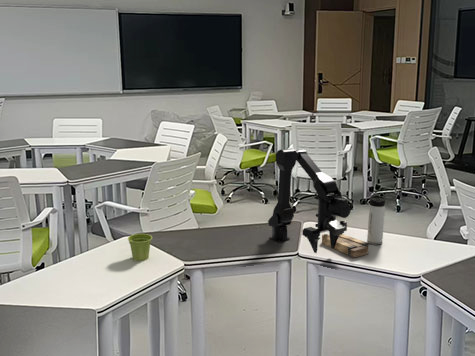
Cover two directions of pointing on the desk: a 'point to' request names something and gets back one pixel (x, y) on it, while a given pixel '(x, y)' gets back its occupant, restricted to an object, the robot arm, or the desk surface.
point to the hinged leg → (338, 244)
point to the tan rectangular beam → (360, 245)
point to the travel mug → (376, 220)
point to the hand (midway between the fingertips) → (324, 250)
